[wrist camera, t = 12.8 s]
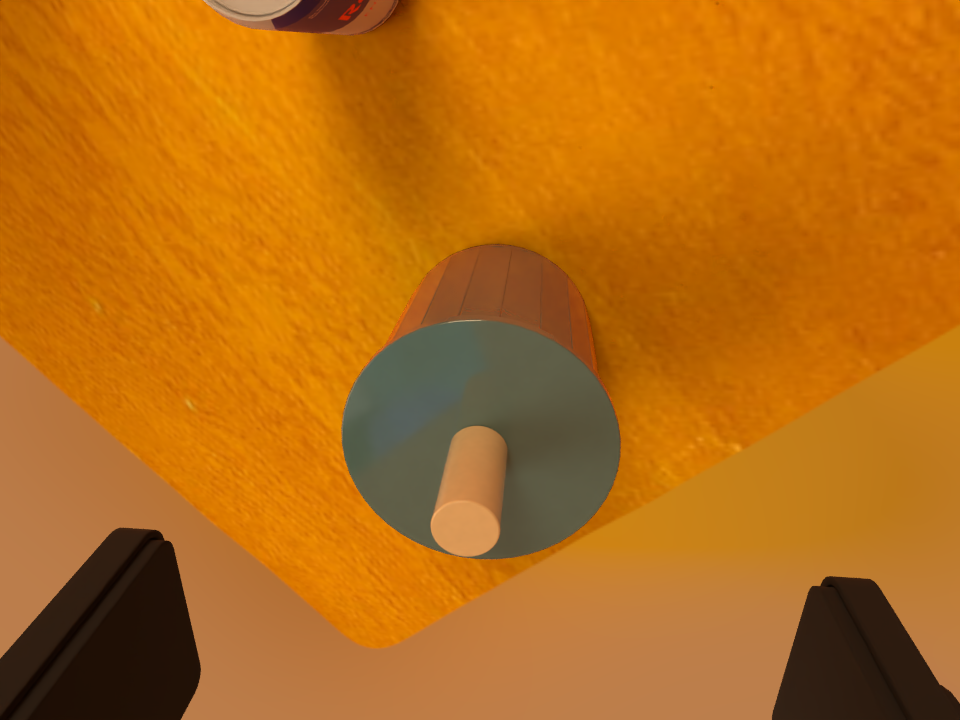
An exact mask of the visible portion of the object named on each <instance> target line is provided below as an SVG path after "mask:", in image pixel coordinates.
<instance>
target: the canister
mask: <svg viewBox="0 0 960 720" xmlns="http://www.w3.org/2000/svg"><path fill="white" fill-rule="evenodd" d="M459 315H488V316H499V317H503V318H508V319H513V320H517V321H520V322H523V323H526V324H529V325H532V326H535V327H537V328H539V329H541V330H543V331H545V332H548V333H550V334H552V335H554V336H555V337H557V338H558V339H560V340H561V341H563V342H564V343H566V344H567V345H569V346H570V347H571V348H572V349H574V350H575V351H576V352H577V353H578V354H579V355H581V356H582V357H583V358H584V359H585V360H586V361H587V363H588V364H589V365H590V366H591V367H592V368H593V369H594V370H595V372H596V373H597V375H598V369H597V362H596V356H595V349H594V343H593V337H592V330H591V325H590V321H589V317H588V313H587V310H586V306H585V303H584V300H583V298H582V296H581V294H580V292H579V291H578V289H577V288H576V286H575V284H574V283H573V282H572V280H571V279H570V278H569V277H568V276H567V274H566V273H565V272H564V271H562V270H561V269H560V268H559V267H558V266H557V265H556V264H554V263H553V262H551V261H550V260H548V259H547V258H545V257H543V256H541V255H539V254H537V253H535V252H533V251H530V250H527V249H524V248H520V247H516V246H511V245H500V244H494V245H482V246H476V247H471V248H468V249H465V250H462V251H459V252H457V253H455V254H453V255H451V256H449V257H447V258H446V259H444V260H443V261H441V262H440V263H438V264H437V265H436V266H435V267H434V268H433V269H432V270H430V271H429V273H427V275H426V276H425V277H424V278H423V280H422V281H421V283H420V284H419V286H418V287H417V289H416V290H415V291H414V293H413V294H412V296H411V298H410V300H409V302H408V303H407V305H406V307H405V309H404V311H403V313H402V315H401V316H400V318H399V320H398V322H397V324H396V326H395V327H394V329H393V331H392V333H391V335H390V337H389V338H388V340H387V342H386V344H387V343H388V342H389V341H391V340H392V339H394V338H395V337H397V336H399V335H400V334H402V333H403V332H405V331H407V330H409V329H412V328H414V327H416V326H418V325H421V324H423V323H427V322H430V321H433V320H437V319H440V318H446V317H452V316H459ZM386 344H385V345H386ZM598 376H599V375H598Z"/></svg>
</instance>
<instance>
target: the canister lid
mask: <svg viewBox="0 0 960 720" xmlns="http://www.w3.org/2000/svg"><path fill="white" fill-rule="evenodd" d="M342 446H343V451H344V457H345V461H346V464H347V467H348V470H349V473H350V475H351V477H352V479H353V481H354V483H355V485H356V487H357V489H358V490H359V492H360V493H361V495H362V496H363V498H364V499H365V501H366V502H367V503H368V504H369V506H370V507H371V508H372V509H373V510H374V511H375V513H376V514H377V515H379V516H380V517H381V518H382V519H383V520H384V521H385V522H386V523H387V524H388V525H390V526H391V527H393V528H394V529H395V530H397V531H398V532H399V533H401V534H402V535H404V536H406V537H408V538H409V539H411V540H413V541H415V542H417V543H419V544H421V545H424V546H426V547H428V548H430V549H433V550H436V551H439V552H443V553H446V554H450V555H455V556H459V557H465V558H474V559H503V558H513V557H518V556H523V555H528V554H531V553H534V552H537V551H540V550H543V549H546V548H548V547H550V546H552V545H555V544H557V543H559V542H561V541H562V540H564V539H566V538H567V537H569V536H570V535H572V534H574V533H575V532H576V531H577V530H579V529H580V528H581V527H582V526H584V525H585V524H586V523H587V522H588V521H589V520H590V519H591V518H592V517H593V515H594V514H595V513H596V512H597V511H598V509H599V508H600V507H601V505H602V504H603V502H604V501H605V500H606V498H607V496H608V494H609V492H610V490H611V488H612V486H613V483H614V480H615V477H616V474H617V472H618V466H619V461H620V449H621V438H620V431H619V424H618V418H617V415H616V412H615V408H614V405H613V402H612V399H611V397H610V395H609V393H608V391H607V389H606V387H605V385H604V384H603V382H602V381H601V379H600V378H599V376H598V375H597V373H596V372H595V370H594V369H593V368H592V367H591V366H590V365H589V364H588V363H587V361H586V360H585V359H584V358H583V357H582V356H581V355H579V354H578V353H577V352H576V351H575V350H574V349H572V348H571V347H570V346H569V345H567V344H566V343H564V342H563V341H561V340H560V339H558V338H557V337H555V336H554V335H552V334H550V333H548V332H545V331H543V330H541V329H539V328H537V327H535V326H532V325H529V324H526V323H523V322H520V321H517V320H513V319H508V318H503V317H499V316H488V315H459V316H452V317H446V318H440V319H437V320H433V321H430V322H427V323H423V324H421V325H418V326H416V327H414V328H412V329H409V330H407V331H405V332H403V333H402V334H400V335H399V336H397V337H395V338H394V339H392V340H391V341H389V342H388V343H387V344H386V345H385V346H383V347H382V348H381V349H380V350H379V351H377V352H376V354H375V355H374V356H373V357H372V358H371V359H370V360H369V361H368V362H367V364H366V365H365V366H364V368H363V369H362V371H361V373H360V374H359V376H358V377H357V379H356V380H355V382H354V384H353V387H352V389H351V391H350V393H349V395H348V398H347V401H346V405H345V408H344V412H343V420H342Z"/></svg>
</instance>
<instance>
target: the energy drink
mask: <svg viewBox="0 0 960 720" xmlns="http://www.w3.org/2000/svg"><path fill="white" fill-rule="evenodd" d="M203 1H205V2H206V3H207V4H208V5H209V6H210V7H212V8H213V9H214V10H215V11H216V12H218V13H219V14H220V15H222V16H223V17H225V18H227V19H229V20H231V21H232V22H234V23H236V24H239V25H242V26H245V27H248V28H252V29H263V30H276V31H292V32H308V33H323V34H339V35H358V34H364V33H366V32H369V31H372V30H374V29H375V28H377V27H378V26H380V25H381V24H383V23H384V22H385V21H386V20H387V19H388V18H389V17H390V15H391V14H392V12H393V11H394V9H395V7H396V6H397V3H398V1H399V0H203Z"/></svg>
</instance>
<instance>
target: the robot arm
mask: <svg viewBox="0 0 960 720" xmlns="http://www.w3.org/2000/svg"><path fill="white" fill-rule="evenodd" d="M200 672H201V668H200V661H199V657H198V652H197V648H196V643H195V639H194V635H193V630H192V626H191V622H190V618H189V613H188V608H187V604H186V600H185V596H184V591H183V587H182V582H181V578H180V574H179V569H178V565H177V561H176V556H175V552H174V548H173V545H172V543H171V542H169V541H164V538H163V535H162V534H161V533H160V532H159V531H157V530H148V529H133V528H118V529H116V530H114V531H113V532H112V533H111V534H110V535H109V536H108V537H107V538H106V539H105V540H104V541H103V542H102V544H101V545H100V546H99V547H98V548H97V549H96V550H95V552H94V553H93V554H92V555H91V556H90V557H89V558H88V560H87V561H86V562H85V563H84V564H83V565H82V566H81V568H80V569H79V570H78V571H77V572H76V573H75V574H74V576H73V577H72V578H71V579H70V580H69V581H68V582H67V583H66V585H65V586H64V587H63V588H62V589H61V590H60V591H59V593H58V594H57V595H56V596H55V597H54V598H53V599H52V601H51V602H50V603H49V604H48V605H47V606H46V607H45V609H44V610H43V611H42V612H41V613H40V614H39V615H38V616H37V618H36V619H35V620H34V621H33V622H32V623H31V625H30V626H29V627H28V628H27V629H26V630H25V631H24V632H23V634H22V635H21V636H20V637H19V638H18V639H17V640H16V642H15V643H14V644H13V645H12V646H11V647H10V649H9V650H8V651H7V652H6V653H5V654H4V655H3V656H2V658H1V659H0V720H181V718H182V716H183V714H184V712H185V710H186V708H187V707H188V705H189V703H190V701H191V699H192V697H193V695H194V694H195V691H196V689H197V687H198V683H199V679H200ZM772 720H960V703H959V702H958V701H957V699H956V698H955V697H954V696H953V694H952V693H951V692H950V691H949V690H947V689H946V688H944V687H943V686H942V685H939V683H938V681H937V680H936V678H935V677H934V675H933V673H932V672H931V670H930V668H929V667H928V665H927V663H926V662H925V660H924V659H923V657H922V655H921V654H920V652H919V651H918V649H917V647H916V646H915V644H914V642H913V641H912V639H911V638H910V636H909V634H908V633H907V631H906V630H905V628H904V626H903V625H902V624H901V622H900V620H899V618H898V617H897V615H896V613H895V612H894V610H893V609H892V607H891V605H890V604H889V602H888V601H887V599H886V597H885V596H884V594H883V593H882V591H881V590H880V588H879V587H878V585H877V584H876V583H875V582H874V581H872V580H871V579H861V578H846V577H833V576H829V577H826V578H825V579H824V580H823V581H822V583H821V586H812V587H811V588H810V590H809V592H808V595H807V599H806V602H805V605H804V609H803V612H802V616H801V619H800V622H799V626H798V629H797V632H796V636H795V639H794V642H793V646H792V649H791V653H790V656H789V659H788V663H787V666H786V669H785V673H784V676H783V680H782V683H781V686H780V690H779V693H778V696H777V700H776V704H775V707H774V710H773V715H772Z"/></svg>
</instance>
